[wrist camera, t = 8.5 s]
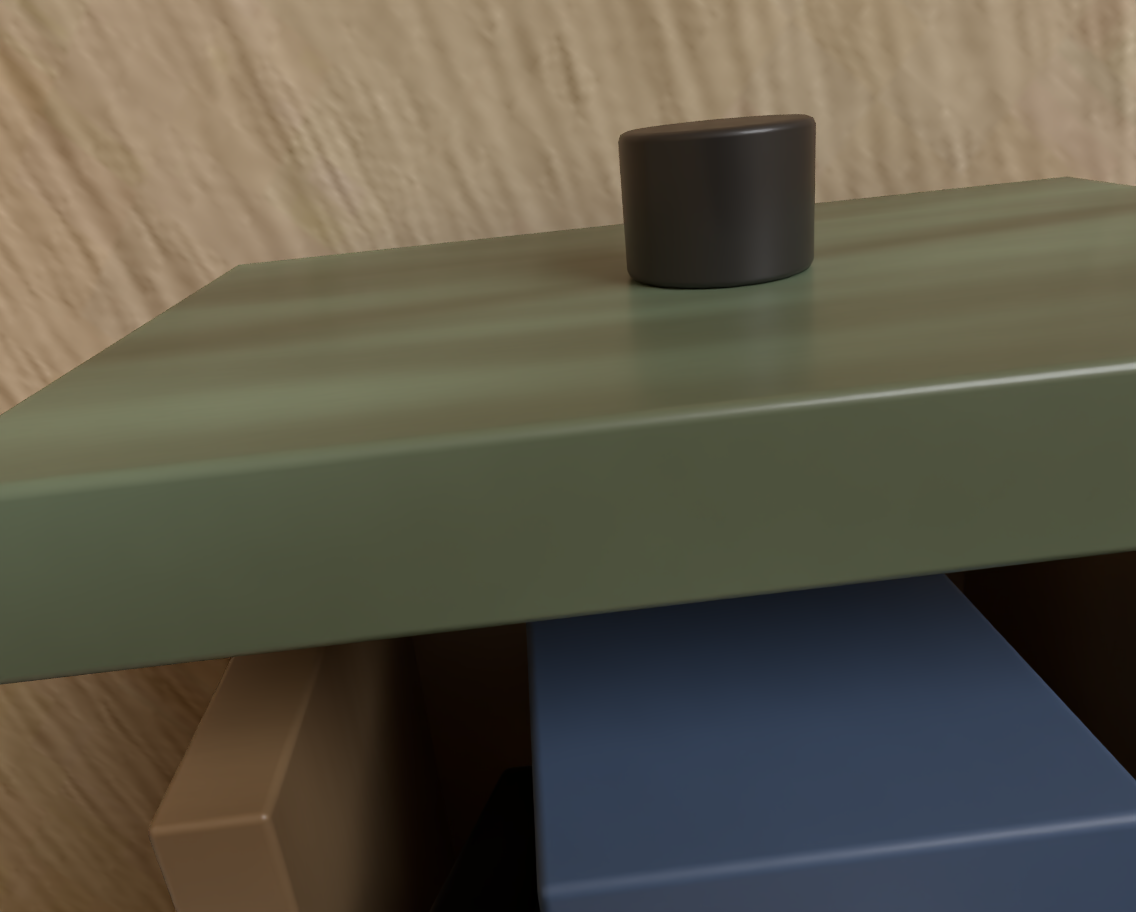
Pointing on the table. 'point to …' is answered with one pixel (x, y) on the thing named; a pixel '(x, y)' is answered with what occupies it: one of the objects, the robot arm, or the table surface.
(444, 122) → the table surface
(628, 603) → the drawer
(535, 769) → the block
